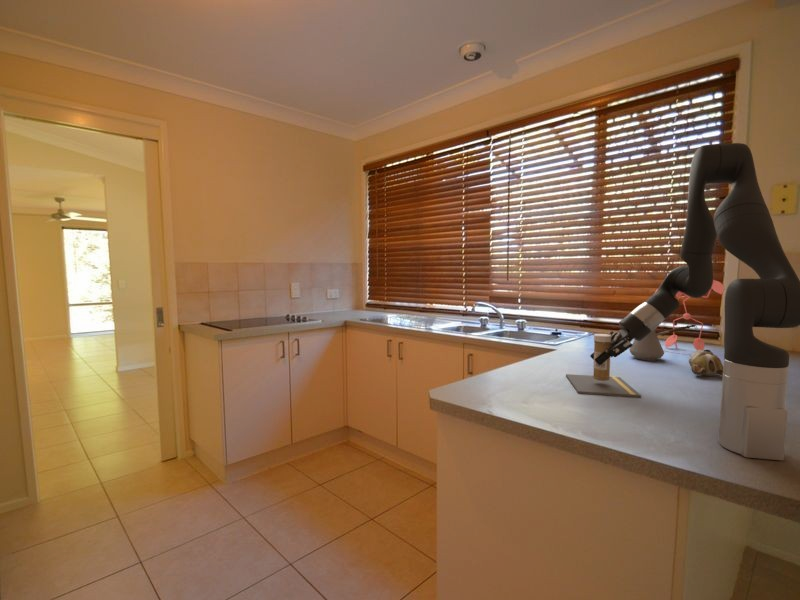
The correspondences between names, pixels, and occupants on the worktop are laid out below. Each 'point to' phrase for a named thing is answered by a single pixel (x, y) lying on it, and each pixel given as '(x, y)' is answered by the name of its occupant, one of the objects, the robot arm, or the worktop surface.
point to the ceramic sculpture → (705, 363)
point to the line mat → (602, 386)
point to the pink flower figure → (697, 342)
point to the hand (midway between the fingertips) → (594, 360)
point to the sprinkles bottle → (599, 346)
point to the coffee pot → (651, 345)
